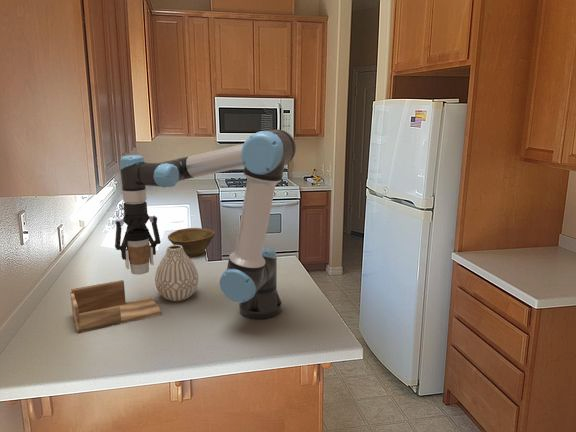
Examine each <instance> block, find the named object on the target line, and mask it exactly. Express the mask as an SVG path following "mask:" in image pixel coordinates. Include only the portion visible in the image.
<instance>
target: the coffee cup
mask: <svg viewBox="0 0 576 432" xmlns="http://www.w3.org/2000/svg"><path fill="white" fill-rule="evenodd" d="M147 229H148V230H146V231H145V232H144V231H143V229H138V228H137V229H134V230H133V231H132V233H131V234H127V233H126V231H125V232H124V236H125V238H126V240H127V241H128V244H127V247H126V249H127V250H128V256H129V268H130V272H131V275H136V276H137V275H144V274H145V275H146V274H147V273H149V272H150V260H149V248H150V245H151V244H150V242H149V238H150V235H151V234H150V235H149V233H150V230H149V228H148V227H147Z"/></svg>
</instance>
